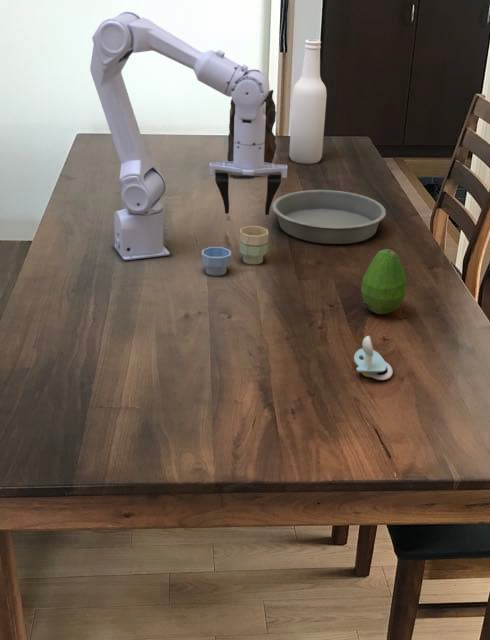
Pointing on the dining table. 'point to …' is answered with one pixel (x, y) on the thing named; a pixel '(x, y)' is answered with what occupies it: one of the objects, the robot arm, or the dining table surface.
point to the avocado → (384, 283)
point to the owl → (269, 136)
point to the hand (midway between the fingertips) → (247, 212)
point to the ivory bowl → (253, 235)
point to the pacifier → (371, 362)
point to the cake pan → (328, 216)
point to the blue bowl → (216, 260)
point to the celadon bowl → (253, 253)
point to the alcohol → (308, 109)
